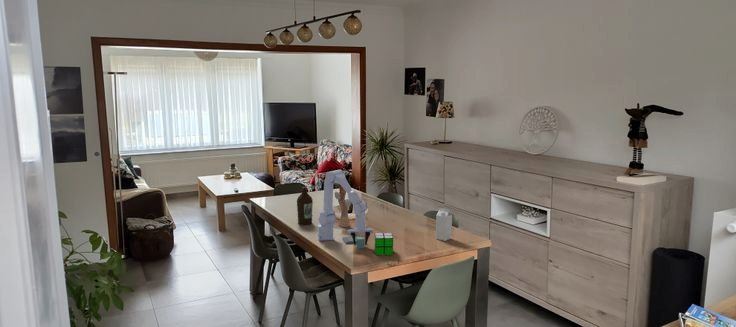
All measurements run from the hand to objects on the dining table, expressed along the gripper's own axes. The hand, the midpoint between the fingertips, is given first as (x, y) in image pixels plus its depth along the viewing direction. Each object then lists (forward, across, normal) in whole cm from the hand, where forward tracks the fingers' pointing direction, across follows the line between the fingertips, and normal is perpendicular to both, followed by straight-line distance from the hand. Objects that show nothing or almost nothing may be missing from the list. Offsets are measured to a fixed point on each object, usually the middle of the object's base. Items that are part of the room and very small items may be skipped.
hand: (360, 244), depth 307 cm
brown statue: (+2, -6, +47) cm, 47 cm away
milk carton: (+2, +53, +10) cm, 54 cm away
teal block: (+2, 0, 0) cm, 2 cm away
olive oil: (+2, -31, +56) cm, 64 cm away
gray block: (+2, -4, +12) cm, 13 cm away
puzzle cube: (+2, +12, -11) cm, 16 cm away
